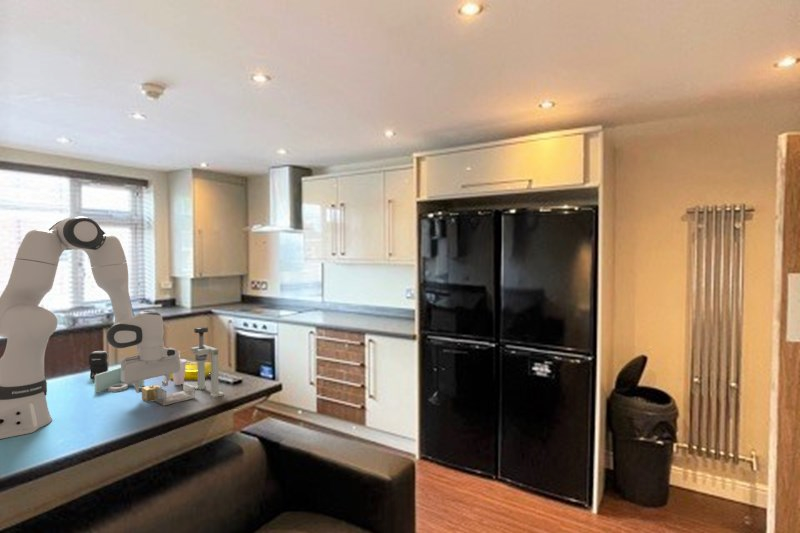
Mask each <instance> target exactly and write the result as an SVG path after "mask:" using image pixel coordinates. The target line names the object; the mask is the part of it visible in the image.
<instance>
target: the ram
mask: <svg viewBox="0 0 800 533" xmlns="http://www.w3.org/2000/svg"><path fill="white" fill-rule="evenodd" d="M193 331H194V333H195V334H198V345H199V349H204V345H205V343H204V334H205V333H209V327H207V326H199V327H194V328H193ZM208 355H209V354H206V355H201V356H199V355H197V353H195V354H194V358H195V362H197V361H204V360H205V361H207V360H209V359H208V358H209V357H208Z"/></svg>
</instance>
